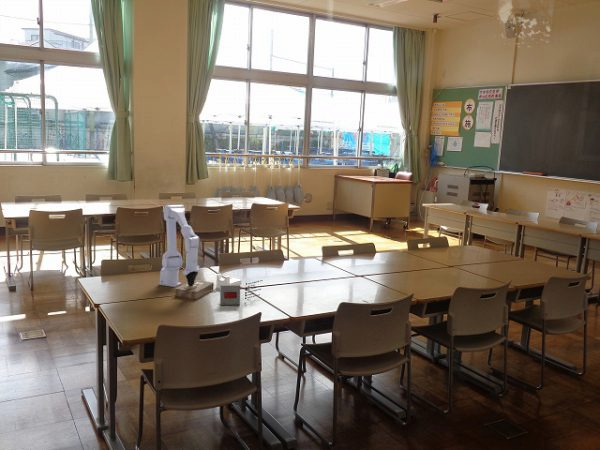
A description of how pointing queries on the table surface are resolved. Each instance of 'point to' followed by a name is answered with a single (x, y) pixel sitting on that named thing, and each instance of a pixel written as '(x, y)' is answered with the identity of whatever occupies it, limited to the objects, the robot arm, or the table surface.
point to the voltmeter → (233, 294)
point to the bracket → (227, 281)
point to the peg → (190, 287)
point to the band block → (194, 290)
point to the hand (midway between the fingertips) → (190, 285)
